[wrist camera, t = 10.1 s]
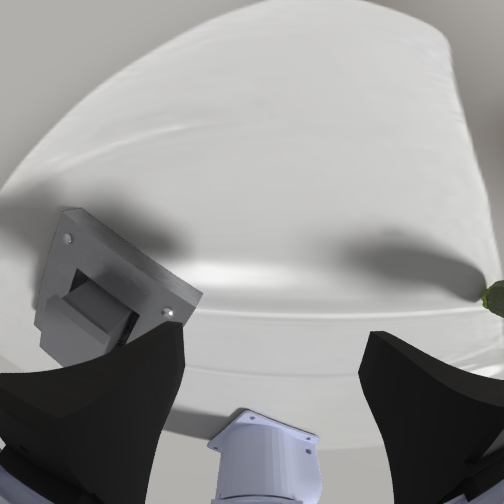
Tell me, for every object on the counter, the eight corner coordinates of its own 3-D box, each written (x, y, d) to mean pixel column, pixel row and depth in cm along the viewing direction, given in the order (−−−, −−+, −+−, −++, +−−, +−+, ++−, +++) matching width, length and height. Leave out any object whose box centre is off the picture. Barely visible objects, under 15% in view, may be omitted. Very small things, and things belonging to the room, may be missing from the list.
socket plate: (203, 293, 20) (194, 310, 17) (144, 385, 22) (133, 406, 19) (81, 207, 18) (58, 212, 16) (48, 314, 21) (30, 326, 18)
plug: (145, 299, 20) (103, 345, 13) (126, 337, 21) (88, 386, 14) (100, 267, 20) (47, 299, 13) (85, 308, 21) (39, 346, 14)
